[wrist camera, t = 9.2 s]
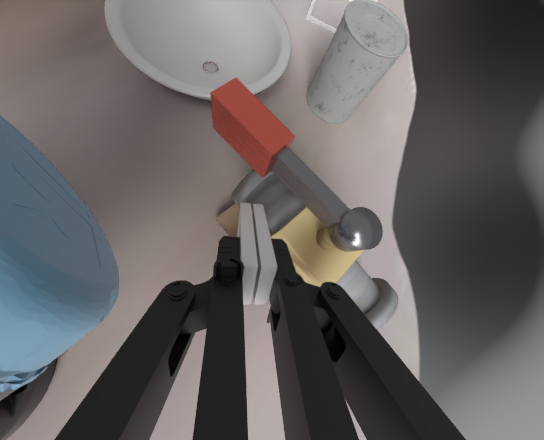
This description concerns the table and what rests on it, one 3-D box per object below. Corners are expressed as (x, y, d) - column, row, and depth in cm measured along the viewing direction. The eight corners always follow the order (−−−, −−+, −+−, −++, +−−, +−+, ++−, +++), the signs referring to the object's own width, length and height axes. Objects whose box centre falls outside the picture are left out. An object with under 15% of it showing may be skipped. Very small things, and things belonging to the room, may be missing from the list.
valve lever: (236, 112, 18) (239, 75, 14) (358, 235, 18) (390, 228, 14) (210, 129, 17) (206, 94, 13) (339, 260, 17) (369, 258, 13)
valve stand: (216, 220, 27) (209, 181, 15) (273, 177, 31) (305, 117, 19) (311, 331, 27) (384, 384, 15) (358, 274, 30) (449, 279, 18)
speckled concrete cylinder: (298, 83, 37) (333, -2, 25) (340, 78, 40) (388, -1, 28) (319, 127, 35) (365, 59, 24) (360, 119, 38) (419, 53, 27)
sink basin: (122, 4, 32) (97, -59, 26) (264, 20, 39) (272, -27, 32) (135, 135, 28) (110, 96, 21) (293, 128, 34) (309, 97, 28)
